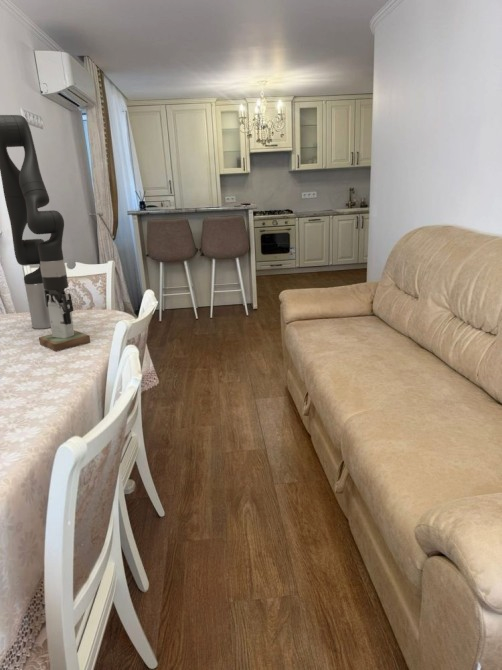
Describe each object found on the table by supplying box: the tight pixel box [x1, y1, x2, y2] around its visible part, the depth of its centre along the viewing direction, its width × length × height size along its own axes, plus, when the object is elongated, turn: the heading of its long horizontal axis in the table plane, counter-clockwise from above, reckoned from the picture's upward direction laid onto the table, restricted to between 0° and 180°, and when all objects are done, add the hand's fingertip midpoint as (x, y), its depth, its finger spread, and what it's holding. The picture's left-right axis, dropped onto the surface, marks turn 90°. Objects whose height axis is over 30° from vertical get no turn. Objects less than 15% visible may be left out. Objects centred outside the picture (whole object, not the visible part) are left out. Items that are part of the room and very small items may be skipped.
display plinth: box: [38, 329, 91, 352], centre depth 152 cm, size 12×12×3 cm
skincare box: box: [48, 301, 75, 338], centre depth 150 cm, size 6×4×12 cm
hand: (61, 322), depth 150 cm, fingers open, 8 cm apart
